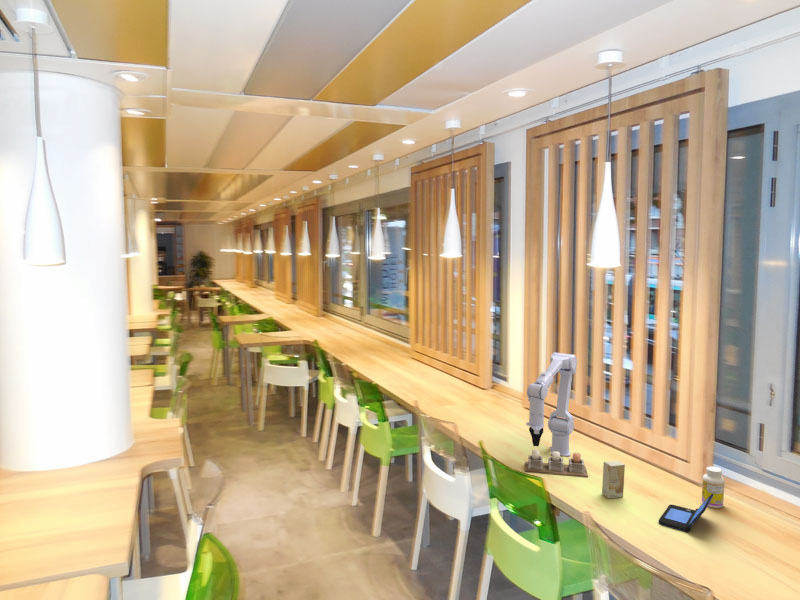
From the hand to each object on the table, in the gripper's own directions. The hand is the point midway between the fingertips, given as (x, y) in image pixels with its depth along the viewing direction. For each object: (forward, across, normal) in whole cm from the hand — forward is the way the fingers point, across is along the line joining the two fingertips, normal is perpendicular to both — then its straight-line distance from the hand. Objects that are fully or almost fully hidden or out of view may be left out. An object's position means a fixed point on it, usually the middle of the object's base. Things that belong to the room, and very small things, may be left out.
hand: (535, 445), depth 227 cm
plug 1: (+6, 0, 0) cm, 6 cm away
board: (+9, 0, +8) cm, 12 cm away
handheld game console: (+10, +35, +47) cm, 60 cm away
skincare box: (+10, +20, +27) cm, 35 cm away
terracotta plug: (+6, 0, +16) cm, 17 cm away
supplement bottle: (+10, +20, +60) cm, 64 cm away
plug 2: (+6, 0, +8) cm, 10 cm away
